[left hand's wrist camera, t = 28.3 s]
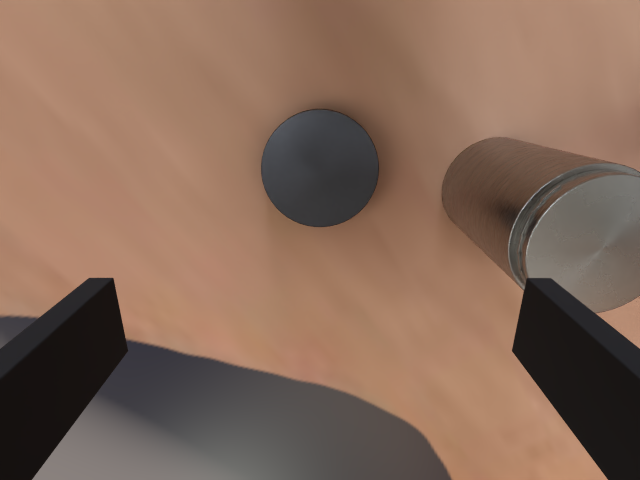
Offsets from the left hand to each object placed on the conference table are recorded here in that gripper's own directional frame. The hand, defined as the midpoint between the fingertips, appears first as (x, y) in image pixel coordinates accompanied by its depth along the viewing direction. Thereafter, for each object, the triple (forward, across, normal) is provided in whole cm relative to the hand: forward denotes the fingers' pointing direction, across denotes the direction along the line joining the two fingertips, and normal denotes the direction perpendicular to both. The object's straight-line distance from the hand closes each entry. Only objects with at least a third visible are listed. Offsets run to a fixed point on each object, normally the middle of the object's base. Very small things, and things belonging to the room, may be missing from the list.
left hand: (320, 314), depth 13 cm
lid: (+26, 0, 0) cm, 26 cm away
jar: (+27, +17, -2) cm, 32 cm away
